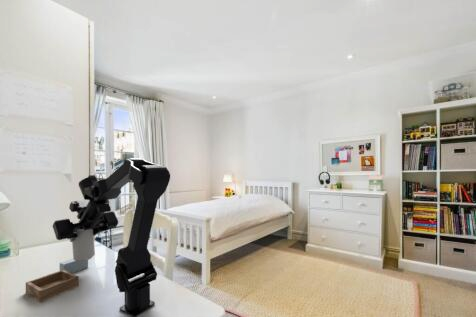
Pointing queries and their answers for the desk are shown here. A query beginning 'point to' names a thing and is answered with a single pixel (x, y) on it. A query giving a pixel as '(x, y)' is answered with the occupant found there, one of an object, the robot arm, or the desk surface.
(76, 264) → the block
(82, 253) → the beverage can
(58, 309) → the desk surface
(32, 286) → the tray
